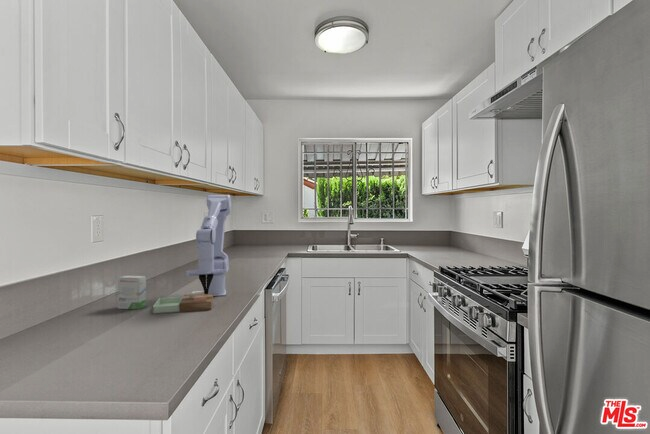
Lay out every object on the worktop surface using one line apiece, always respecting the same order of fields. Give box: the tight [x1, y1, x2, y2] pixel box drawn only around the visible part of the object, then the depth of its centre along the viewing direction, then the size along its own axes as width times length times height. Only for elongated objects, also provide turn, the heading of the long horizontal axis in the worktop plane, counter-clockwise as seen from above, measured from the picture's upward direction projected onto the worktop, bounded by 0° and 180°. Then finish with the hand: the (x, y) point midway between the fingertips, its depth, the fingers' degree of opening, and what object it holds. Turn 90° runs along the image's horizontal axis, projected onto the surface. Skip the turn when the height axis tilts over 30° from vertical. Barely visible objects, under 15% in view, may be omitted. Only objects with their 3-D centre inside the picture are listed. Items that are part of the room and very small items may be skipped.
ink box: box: [117, 275, 147, 310], centre depth 138 cm, size 9×5×12 cm, turn 84°
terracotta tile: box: [194, 294, 207, 302], centre depth 138 cm, size 4×4×2 cm
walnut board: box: [179, 294, 214, 313], centre depth 140 cm, size 13×11×3 cm
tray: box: [152, 296, 183, 314], centre depth 138 cm, size 13×9×2 cm
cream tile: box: [190, 290, 204, 298], centre depth 143 cm, size 4×4×2 cm
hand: (206, 293), depth 144 cm, fingers closed
